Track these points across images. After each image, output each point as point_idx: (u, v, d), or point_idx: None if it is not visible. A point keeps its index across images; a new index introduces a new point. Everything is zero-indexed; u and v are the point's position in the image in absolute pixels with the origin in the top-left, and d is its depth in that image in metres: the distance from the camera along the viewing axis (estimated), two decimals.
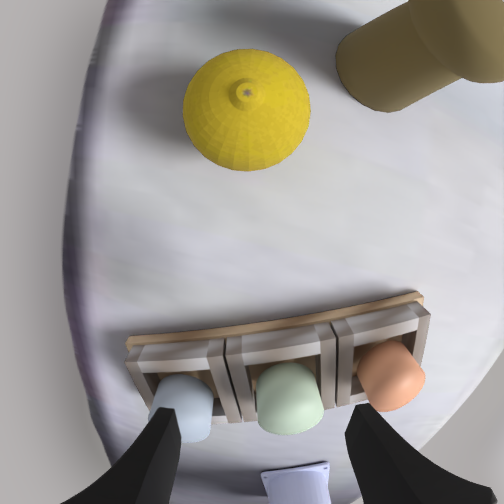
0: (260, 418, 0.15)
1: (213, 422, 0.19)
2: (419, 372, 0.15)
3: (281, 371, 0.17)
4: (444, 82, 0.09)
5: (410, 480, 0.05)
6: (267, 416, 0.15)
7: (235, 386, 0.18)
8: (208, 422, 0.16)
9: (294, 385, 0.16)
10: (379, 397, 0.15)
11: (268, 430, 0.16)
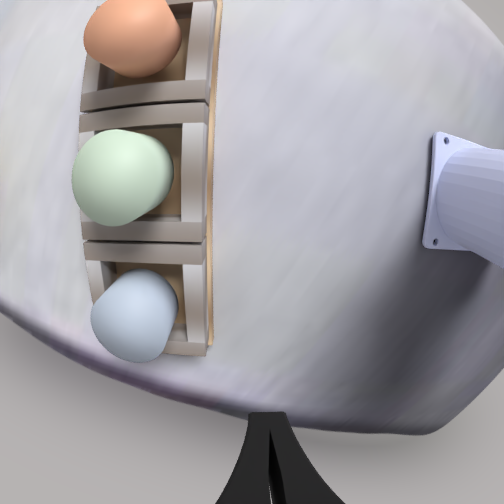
0: (106, 222, 0.11)
1: (196, 285, 0.15)
2: (105, 5, 0.08)
3: None
4: None
5: None
6: (104, 211, 0.11)
7: (126, 238, 0.14)
8: (117, 291, 0.12)
9: None
10: (119, 48, 0.09)
11: (136, 214, 0.11)
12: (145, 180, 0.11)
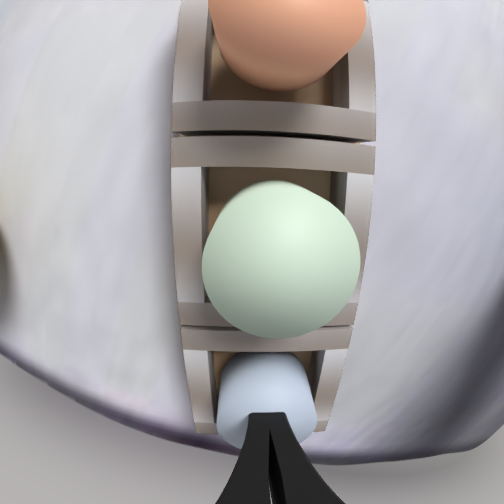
0: (269, 333, 0.08)
1: (337, 369, 0.12)
2: None
3: None
4: None
5: None
6: (266, 319, 0.08)
7: None
8: (265, 393, 0.10)
9: None
10: (292, 41, 0.05)
11: (321, 322, 0.08)
12: (343, 276, 0.07)
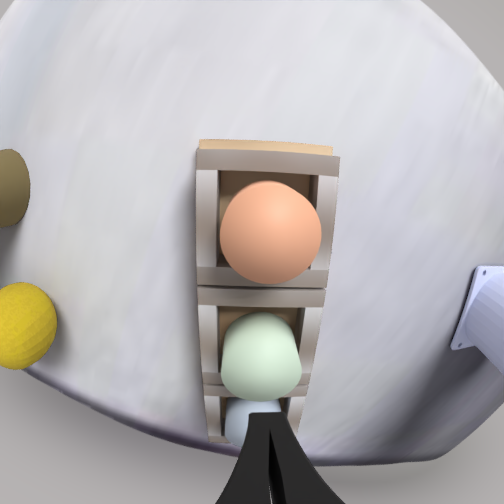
0: (254, 399, 0.14)
1: (299, 407, 0.18)
2: (243, 202, 0.11)
3: None
4: None
5: None
6: (253, 393, 0.14)
7: None
8: None
9: (222, 357, 0.14)
10: (270, 269, 0.12)
11: (281, 395, 0.14)
12: (292, 377, 0.14)
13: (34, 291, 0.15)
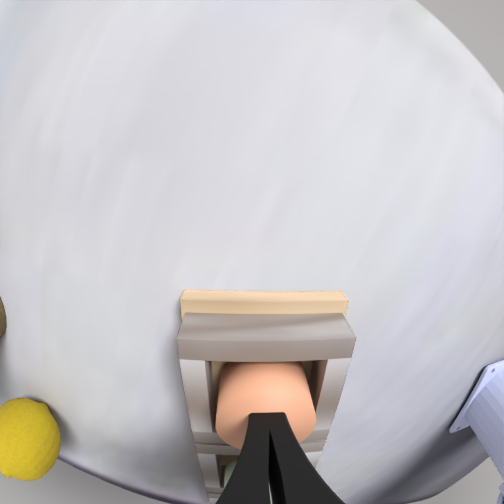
0: None
1: None
2: (237, 407, 0.10)
3: (224, 482, 0.13)
4: None
5: None
6: None
7: None
8: None
9: None
10: None
11: None
12: None
13: (32, 414, 0.13)
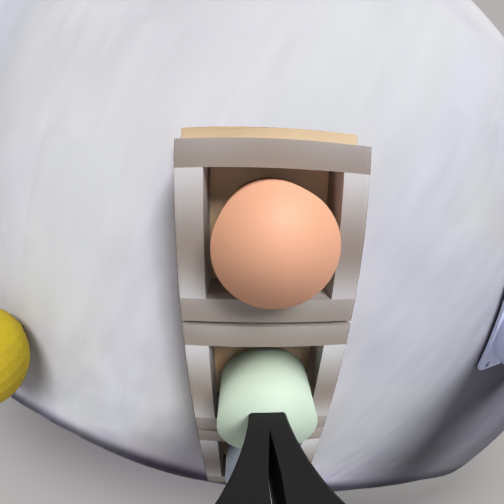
0: None
1: (311, 448, 0.14)
2: (239, 206, 0.08)
3: None
4: None
5: None
6: None
7: None
8: None
9: (218, 405, 0.11)
10: (276, 292, 0.09)
11: None
12: (305, 427, 0.10)
13: (0, 318, 0.12)
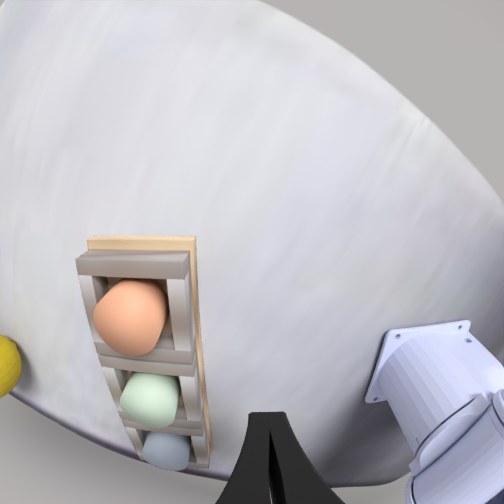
0: (148, 425, 0.17)
1: (200, 443, 0.20)
2: (102, 305, 0.14)
3: None
4: None
5: None
6: (146, 421, 0.17)
7: None
8: (158, 447, 0.18)
9: None
10: (129, 347, 0.15)
11: (165, 425, 0.17)
12: (168, 414, 0.17)
13: (1, 342, 0.17)
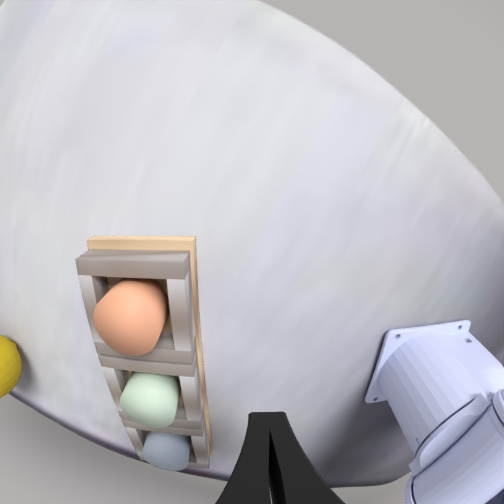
0: (148, 425, 0.17)
1: (200, 443, 0.20)
2: (102, 305, 0.14)
3: None
4: None
5: None
6: (146, 421, 0.17)
7: None
8: (158, 447, 0.18)
9: None
10: (129, 347, 0.15)
11: (165, 425, 0.17)
12: (168, 414, 0.17)
13: (1, 342, 0.17)
